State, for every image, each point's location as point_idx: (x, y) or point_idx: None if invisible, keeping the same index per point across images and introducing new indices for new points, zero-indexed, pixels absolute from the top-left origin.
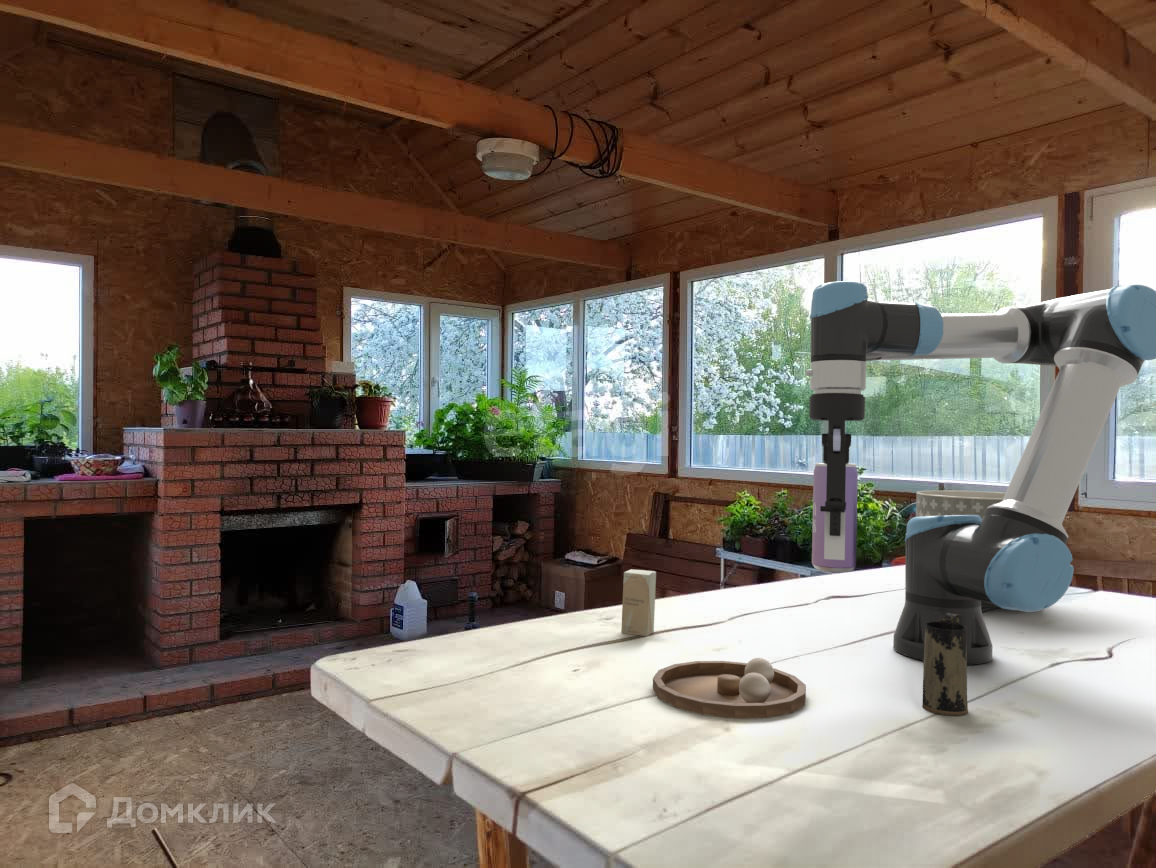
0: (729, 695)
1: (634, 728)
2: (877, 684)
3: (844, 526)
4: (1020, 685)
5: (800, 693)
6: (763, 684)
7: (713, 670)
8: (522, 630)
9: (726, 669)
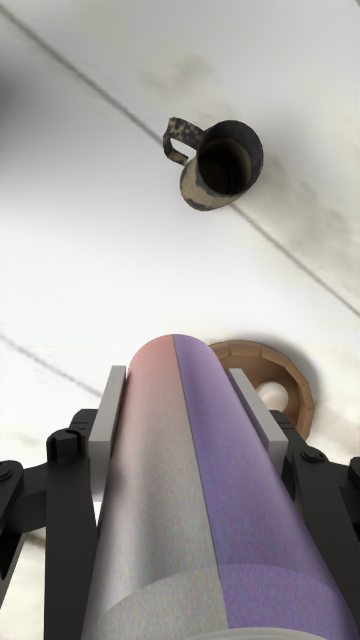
0: None
1: None
2: (123, 254)
3: (268, 414)
4: (51, 28)
5: (263, 352)
6: (285, 393)
7: None
8: (40, 628)
9: None
